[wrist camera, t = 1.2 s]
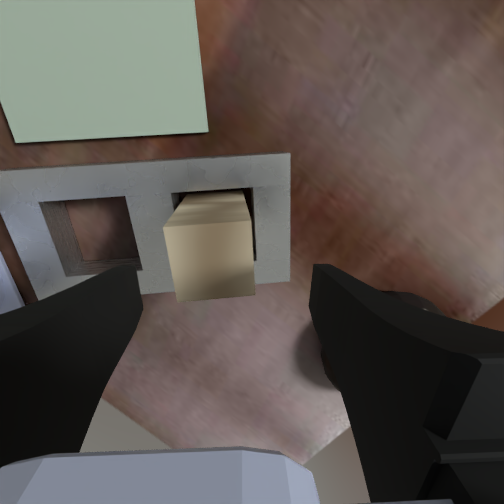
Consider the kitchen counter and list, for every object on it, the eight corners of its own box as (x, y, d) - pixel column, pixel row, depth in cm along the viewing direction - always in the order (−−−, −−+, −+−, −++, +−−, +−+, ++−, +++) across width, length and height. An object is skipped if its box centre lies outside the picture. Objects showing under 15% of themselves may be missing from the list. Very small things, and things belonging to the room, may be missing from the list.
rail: (60, 285, 21) (39, 303, 19) (14, 168, 18) (-17, 172, 15) (283, 266, 22) (289, 281, 20) (282, 151, 19) (290, 153, 16)
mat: (21, 142, 17) (15, 142, 17) (-80, -134, 13) (-91, -145, 12) (208, 131, 18) (208, 131, 17) (180, -135, 13) (178, -144, 13)
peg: (194, 245, 21) (177, 302, 14) (187, 194, 19) (162, 227, 12) (245, 241, 21) (255, 295, 14) (242, 190, 20) (251, 220, 12)
